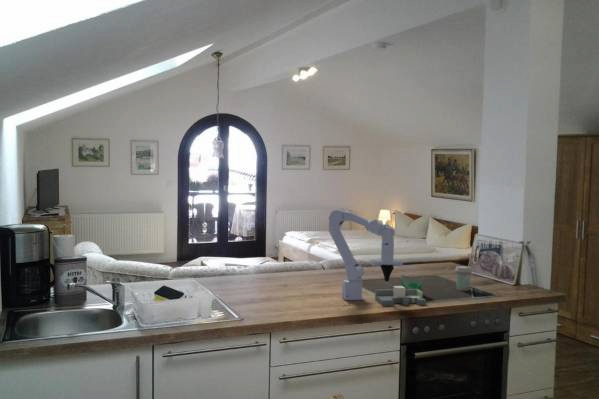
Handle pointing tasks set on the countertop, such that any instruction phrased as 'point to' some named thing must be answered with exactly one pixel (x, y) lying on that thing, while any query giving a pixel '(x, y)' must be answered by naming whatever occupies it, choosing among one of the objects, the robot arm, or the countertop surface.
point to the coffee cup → (463, 277)
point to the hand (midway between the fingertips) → (386, 280)
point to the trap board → (388, 299)
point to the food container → (412, 282)
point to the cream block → (398, 291)
